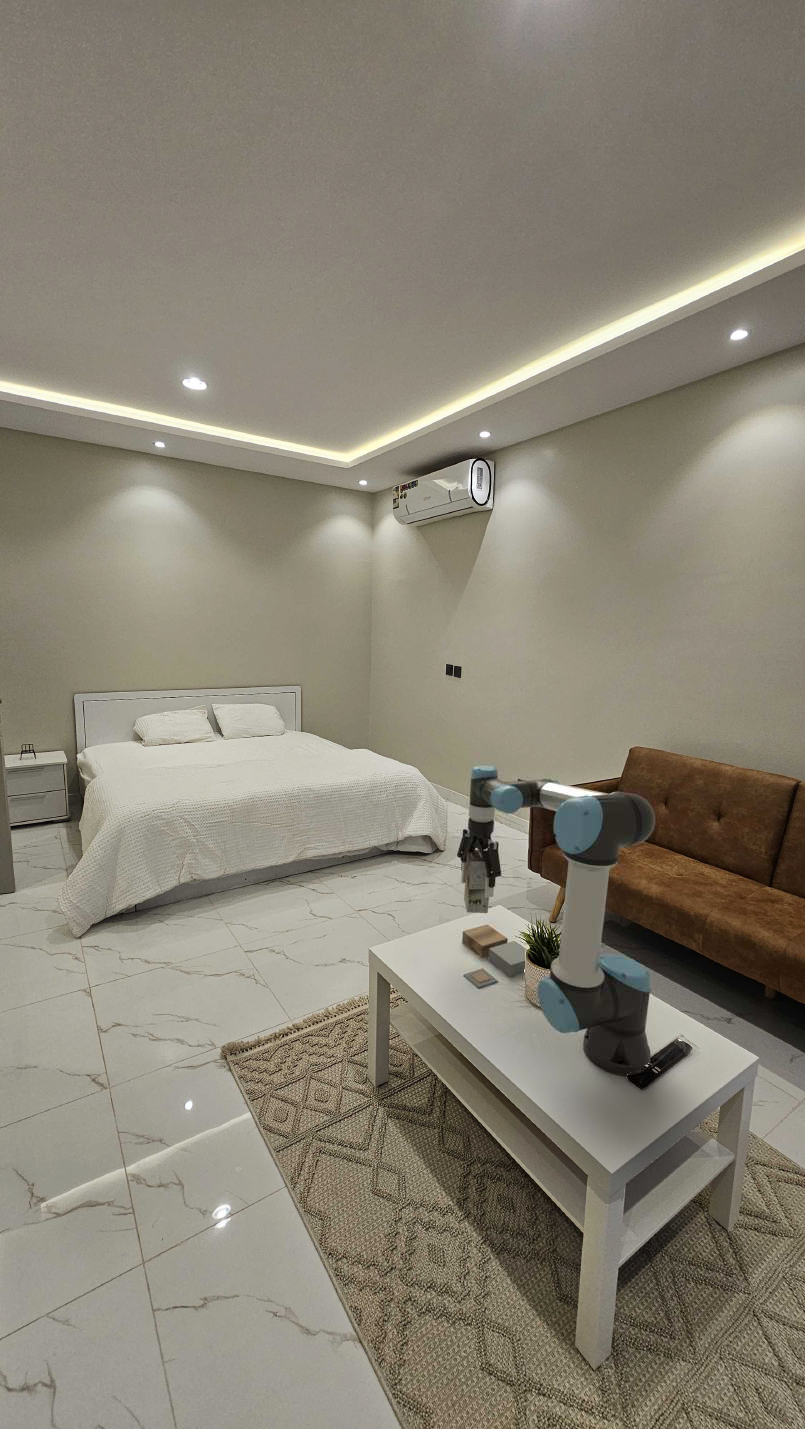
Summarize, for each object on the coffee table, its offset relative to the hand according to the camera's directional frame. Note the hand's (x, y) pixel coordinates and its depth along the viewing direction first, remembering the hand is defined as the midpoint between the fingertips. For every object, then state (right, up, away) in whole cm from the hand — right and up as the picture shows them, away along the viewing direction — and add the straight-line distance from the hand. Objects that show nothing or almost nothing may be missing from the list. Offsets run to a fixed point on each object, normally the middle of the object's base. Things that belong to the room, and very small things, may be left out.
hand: (476, 889), depth 180 cm
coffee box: (0, -5, +1) cm, 6 cm away
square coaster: (0, -23, -8) cm, 25 cm away
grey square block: (+11, -23, 0) cm, 25 cm away
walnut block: (+4, -21, +10) cm, 23 cm away
